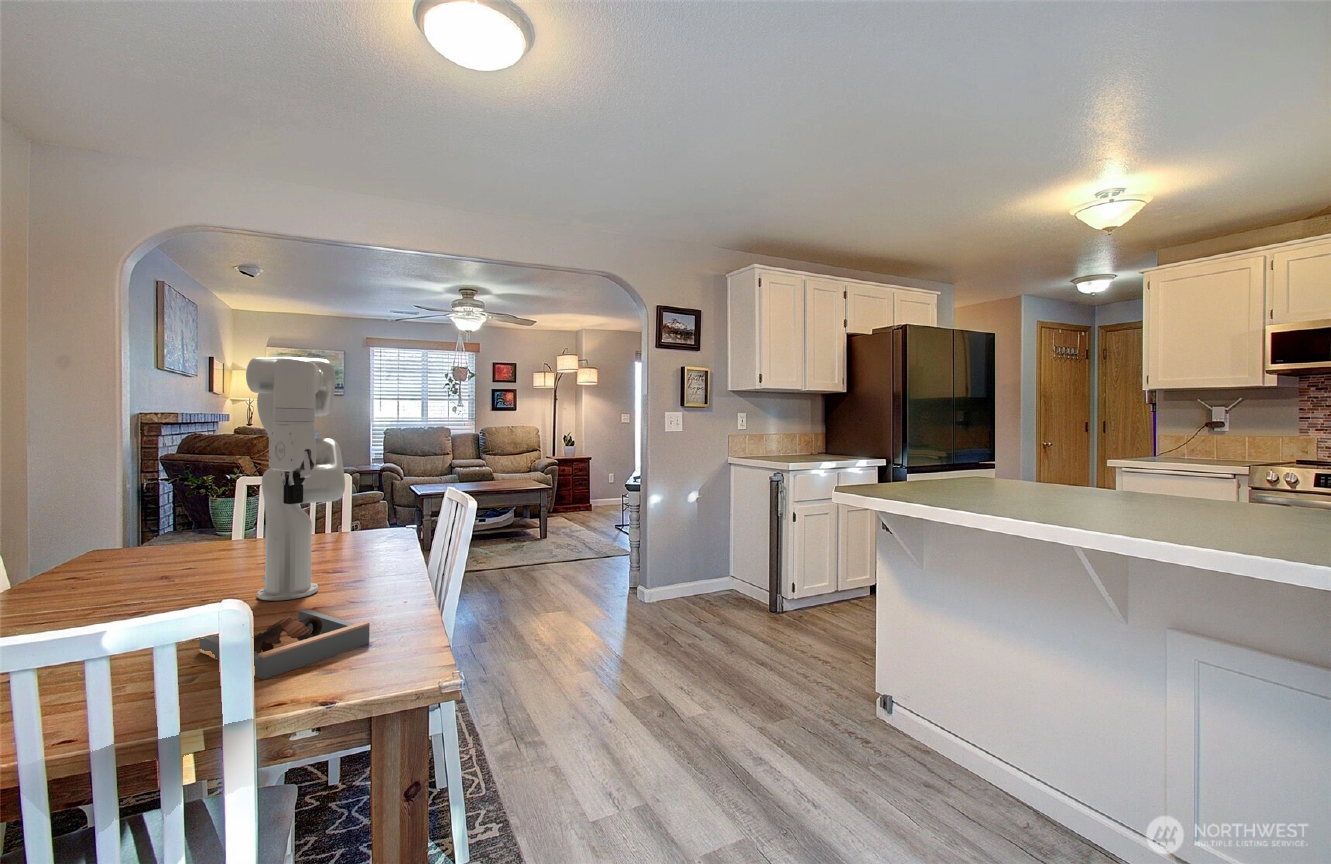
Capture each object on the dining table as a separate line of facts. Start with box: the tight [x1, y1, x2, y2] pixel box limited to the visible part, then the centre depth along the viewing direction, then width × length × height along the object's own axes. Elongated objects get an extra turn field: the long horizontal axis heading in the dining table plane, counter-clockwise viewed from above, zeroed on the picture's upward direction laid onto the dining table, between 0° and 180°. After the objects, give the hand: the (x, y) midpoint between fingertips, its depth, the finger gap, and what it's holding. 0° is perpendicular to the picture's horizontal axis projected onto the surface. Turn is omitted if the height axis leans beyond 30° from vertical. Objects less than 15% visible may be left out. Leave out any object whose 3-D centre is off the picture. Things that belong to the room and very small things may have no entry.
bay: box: [198, 608, 371, 680], centre depth 111 cm, size 22×19×4 cm
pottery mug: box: [253, 615, 322, 653], centre depth 108 cm, size 12×10×8 cm
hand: (293, 503), depth 125 cm, fingers closed
